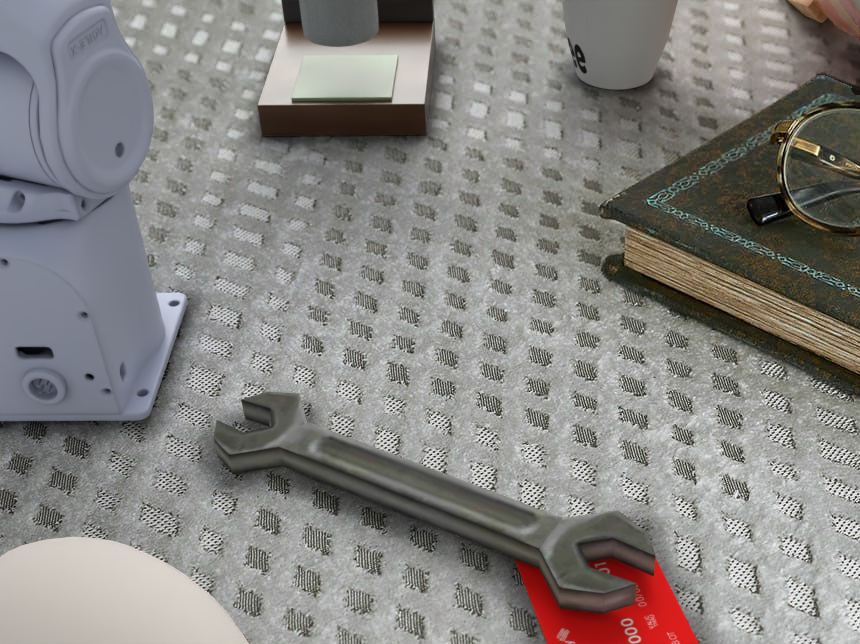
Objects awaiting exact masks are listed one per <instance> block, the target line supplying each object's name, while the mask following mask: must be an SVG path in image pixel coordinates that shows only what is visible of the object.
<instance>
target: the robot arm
mask: <svg viewBox="0 0 860 644" xmlns="http://www.w3.org/2000/svg"><path fill="white" fill-rule="evenodd" d="M149 83H150V82H149V79H148V76H147V73H146V71H145V68H144V66H143V64H142V62H141V60H140V58H139V57H138V56H137V54H136V53H135V52H134V50H133V49H132V47H131V46H130V45H129V44H128V42H127V41H126V39H125V37H124V36H123V34H122V32H121V30H120V28H119V26H118V23H117V19H116V16H115V13H114V9H113V5H112V2H111V0H0V422H88V421H89V422H116V421H117V422H121V421H122V422H124V421H125V422H127V421H132V422H134V421H135V422H136V421H137V422H138V421H143V420H145V419H147V418H148V417H149V416H150V415H151V413H152V410H153V408H154V404H155V402H156V398H157V396H158V393H159V389H160V387H161V383H162V380H163V378H164V375H165V371H166V369H167V366H168V363H169V359H170V357H171V355H172V351H173V348H174V345H175V342H176V340H177V336H178V334H179V330H180V328H181V324H182V321H183V318H184V315H185V312H186V309H187V306H188V298H187V295H186V294H185V293H182V292H157V291H156V287H155V283H154V279H153V274H152V271H151V267H150V263H149V259H148V255H147V251H146V246H145V242H144V238H143V236H142V235H143V234H142V231H141V227H140V222H139V219H138V215H137V212H136V207H135V203H134V200H133V199H134V198H133V196H132V191H131V187H130V183H131V182H132V181H133V179H134V178H135V177H136V176H137V175H138V174H139V172H140V170H141V169H140V168H141V167H142V166H143V163H144V162H145V159H146V157H147V155H148V152H149V149H150V146H151V143H152V138H153V132H154V124H155V123H154V121H155V112H154V111H155V109H154V101H153V95H152V91H151V87H150V84H149Z"/></svg>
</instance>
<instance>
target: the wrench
mask: <svg viewBox="0 0 860 644" xmlns="http://www.w3.org/2000/svg"><path fill="white" fill-rule="evenodd" d="M240 401H241V406H242V410H243V415H244V416H243V417H244V419H245V420H247V421H250V422H253V423H255V424H260V425H262V426H265V427H262V428H257V429H252V430H247V431H243V430H241V429H238V428H236V427H233V426H232V425H230V424H227V423H226V422H223V421H220V420H218V419H216V420H215V427H214V432H213V437H212V438H213V442H214V447H215V451H216V454H217V458H218V459H219V461H221V463H222V464H223V465H224V466H225V467H226V468H227V469H228V471H230V473H231V474H232V475H233V476H234V475H240V474H241V475H242V474H246V473H247V474H248V473H253V472H254V473H255V472H261V471H266V470H272V469H273V470H274V469H278V468H284V469H288V470H290V471H293V472H296V473H298V474H300V475H303V476H305V477H308V478H310V479H313V480H315V481H318V482H320V483H323V484H324V485H328V486H330V487H332V488H335V489H337V490H339V491H340V490H341V491H342V492H345V493H347V494H351V495H352V496H356V497H358V498H360V499H363V500H365V501H368V502H369V503H370V502H371V503H373V504H375V505H378V506H380V507H383V508H385V509H387V510H391V511H393V512H395V513H398V514H400V515H402V516H406V517H408V518H410V519H413V520H415V521H418V522H421V523H423V524H425V525H428V526H430V527H433V528H436V529H438V530H441V531H443V532H446V533H448V534H451V535H453V536H456V537H458V538H461V539H463V540H465V541H468V542H471V543H474V544H475V545H478V546H481V547H483V548H485V549H488V550H491V551H494V552H496V553H498V554H501V555H503V556H505V557H508V558H511V559H513V560H515V559H516V560H518V561H521V562H523V563H526V564H528V565H531V566H533V567H536V568H538V569H540V571H541V573H542V575H543V577H544V579H545V581H546V583H547V585H548V587H549V589H550V591H551V593H552V595H553V597H554V599H555V600H556V602H557V604H558V606H559V608H561V609H569V610H577V611H585V612H593V613H601V614H605V613H608V612H611V611H614V610H617V609H621V608H624V607H627V606H630V605H634V604H635V600H636V586H637V583H634V582H631V581H628V580H625V579H622V578H619V577H617V576H614V575H611V574H608V573H605V572H602V571H599V570H596V569H593V568H591V567H590V565H589V563H588V562H592V561H598V560H604V559H609V558H612V559H615V560H617V561H619V562H622V563H624V564H626V565H629V566H631V567H633V568H635V569H638V570H640V571H642V572H645V573H647V574H649V575H652V576H654V569H655V558H656V553H655V550H654V549H655V548H654V547H653V545H652V544H653V543H652V541H651V538H650V534H649V532H648V531H647V530H646V529H645V528H642V526H640V525H638V524H637V523H636V522H634V521H633V520H631V518H629V517H627V516H626V515H625V514H623V513H622V512H621V511H619V510H611V511H604V512H603V511H602V512H597V513H589V514H583V515H582V514H581V515H575V516H568V517H567V516H566V517H561V516H559V515H557V514H554V513H551V512H549V511H546V510H542V509H541V508H538V507H534V506H532V505H530V504H527V503H524V502H521V501H518V500H516V499H514V498H512V497H508V496H505V495H503V494H500V493H498V492H495V491H492V490H490V489H487V488H485V487H482V486H479V485H477V484H473V483H471V482H468V481H466V480H463V479H461V478H458V477H455V476H453V475H451V474H447V473H444V472H442V471H439V470H436V469H434V468H431V467H429V466H426V465H423V464H421V463H418V462H416V461H413V460H411V459H408V458H405V457H402V456H400V455H397V454H394V453H391V452H389V451H386V450H383V449H381V448H378V447H376V446H373V445H370V444H367V443H365V442H362V441H360V440H356V439H354V438H353V437H352V438H351V437H348V436H346V435H344V434H341V433H339V432H336V431H333V430H331V429H328V428H324V427H322V426H319V425H317V424H315V423H312V422H309V421H308V420H307V416H306V412H305V408H304V406H303V402H302V399H301V394H300V393H298V392H297V393H295V392H281V391H265V392H262V393H258V394H254V395H250V396H248V397H245V398H241V399H240ZM656 559H657V558H656Z"/></svg>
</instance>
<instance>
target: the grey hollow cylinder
mask: <svg viewBox="0 0 860 644" xmlns="http://www.w3.org/2000/svg"><path fill="white" fill-rule="evenodd" d="M299 4H300V12H301V20H302V27H303V32H304V36H305V37H306V38H307V39H308V40H309V41H311V42H313V43H315V44H318V45H323V46H329V47H344V46H352V45H357V44H361V43H363V42H366V41H368V40H370V39H372V38H373V37H374V36H375V35H376V34H377V33H378V30H379V24H378V8H377V0H299Z"/></svg>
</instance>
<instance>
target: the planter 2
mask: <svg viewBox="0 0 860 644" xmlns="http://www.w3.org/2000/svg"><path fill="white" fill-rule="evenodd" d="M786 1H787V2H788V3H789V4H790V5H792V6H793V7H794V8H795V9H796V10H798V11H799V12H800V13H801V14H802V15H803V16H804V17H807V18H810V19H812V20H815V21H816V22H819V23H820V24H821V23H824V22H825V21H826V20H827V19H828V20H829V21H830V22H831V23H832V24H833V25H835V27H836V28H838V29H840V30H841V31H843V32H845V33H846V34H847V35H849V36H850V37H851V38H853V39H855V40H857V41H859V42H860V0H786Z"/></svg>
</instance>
